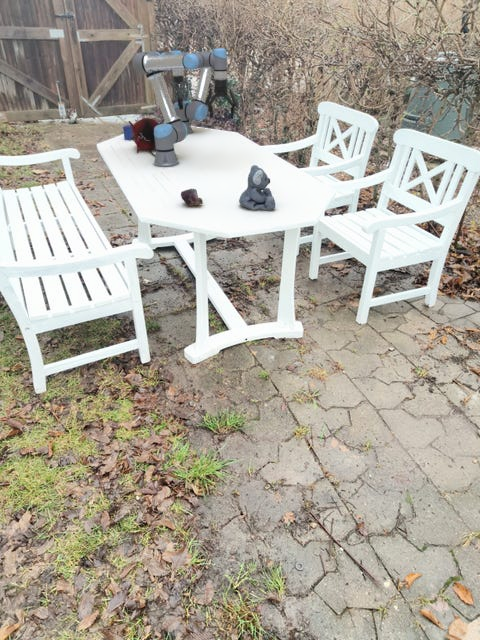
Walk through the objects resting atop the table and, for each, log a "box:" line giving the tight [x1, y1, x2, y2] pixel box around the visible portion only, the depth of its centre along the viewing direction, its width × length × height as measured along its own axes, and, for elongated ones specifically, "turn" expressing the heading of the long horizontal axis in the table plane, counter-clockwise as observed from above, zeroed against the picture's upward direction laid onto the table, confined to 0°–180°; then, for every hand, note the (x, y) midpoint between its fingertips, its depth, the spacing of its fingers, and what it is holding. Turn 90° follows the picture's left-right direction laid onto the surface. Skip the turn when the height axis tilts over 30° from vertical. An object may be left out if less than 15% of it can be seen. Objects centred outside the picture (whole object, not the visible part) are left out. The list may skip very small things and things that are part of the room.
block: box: [122, 124, 133, 141], centre depth 350 cm, size 7×5×10 cm
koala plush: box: [238, 164, 276, 211], centre depth 224 cm, size 17×18×20 cm
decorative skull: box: [128, 117, 161, 154], centre depth 321 cm, size 21×24×25 cm
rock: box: [180, 188, 204, 207], centre depth 229 cm, size 12×9×10 cm
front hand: (221, 118), depth 276 cm, fingers open, 13 cm apart
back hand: (180, 107), depth 336 cm, fingers open, 13 cm apart
